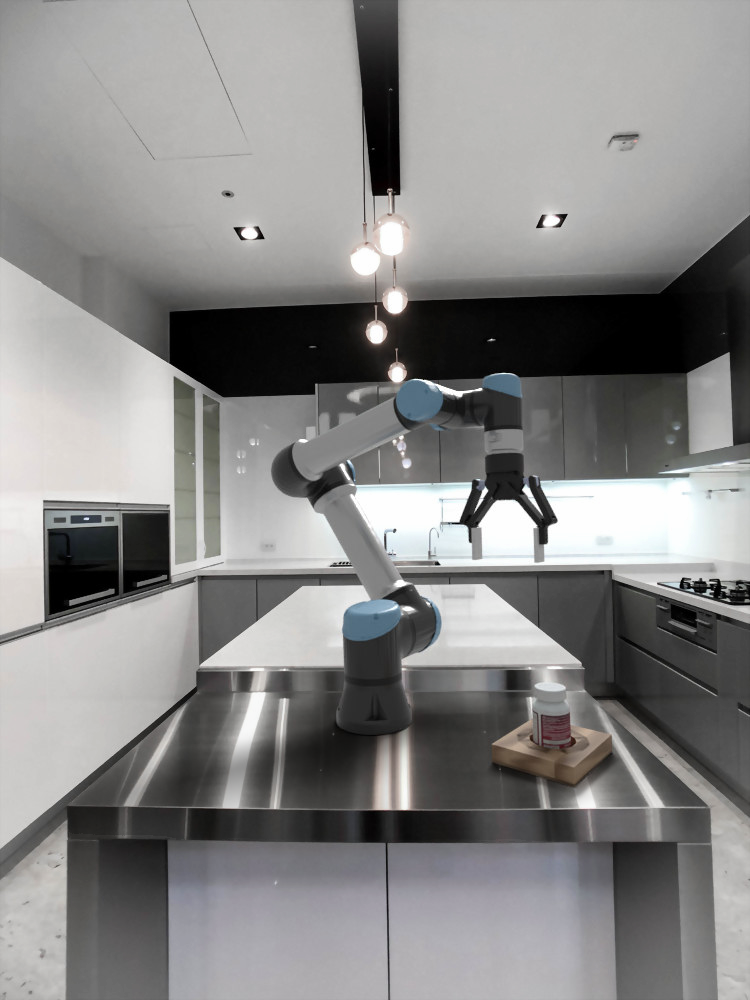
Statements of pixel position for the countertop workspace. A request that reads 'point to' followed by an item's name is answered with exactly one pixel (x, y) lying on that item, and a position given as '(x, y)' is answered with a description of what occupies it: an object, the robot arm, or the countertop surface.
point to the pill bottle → (551, 716)
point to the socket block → (553, 754)
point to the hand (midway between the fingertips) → (507, 560)
